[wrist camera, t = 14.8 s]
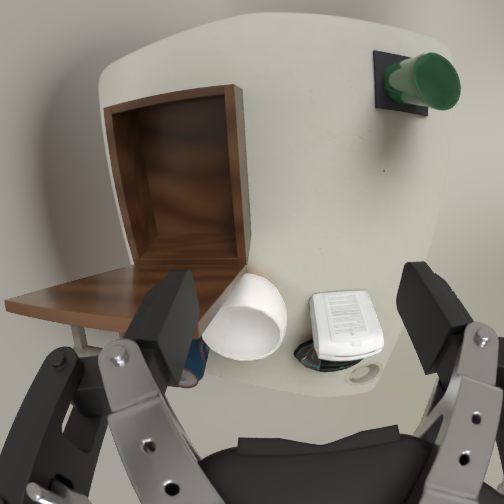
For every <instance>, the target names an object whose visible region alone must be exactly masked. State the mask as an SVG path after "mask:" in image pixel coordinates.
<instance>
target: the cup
mask: <svg viewBox="0 0 504 504" xmlns="http://www.w3.org/2000/svg"><path fill="white" fill-rule="evenodd" d="M286 328H287V313H286V305H285V303H284V301H283V299H282V297H281V295H280V294H279V292H278V290H277V288H276V286H275V285H273V284H272V283H271V282H269V281H268V280H267V279H265V278H263V277H260V276H257V275H254V274H251V273H245V274H244V275H243V277H242V278H241V280H240V281H239V283H238V284H237V285H236V287H235V288H234V290H233V291H232V293H231V294H230V295H229V297H228V298H227V300H226V301H225V303H224V304H223V305H222V307H221V308H220V310H219V311H218V313H217V314H216V315H215V317H214V318H213V320H212V321H211V323H210V324H209V325H208V327H207V328H206V330H205V331H204V333H203V334H202V339H203V340H204V342H205V343H206V344H207V345H208V346H209V347H210V349H211V350H213V351H215V352H216V353H218V354H220V355H221V356H223V357H226V358H230V359H234V360H237V361H253V360H257V359H261V358H265V357H267V356H268V355H270V354H272V353H273V352H275V351H276V350H277V349H278V347H279V346H280V344H281V343H282V341H283V339H284V336H285V333H286Z"/></svg>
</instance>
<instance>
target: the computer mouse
mask: <svg viewBox="0 0 504 504" xmlns="http://www.w3.org/2000/svg"><path fill="white" fill-rule="evenodd" d="M294 356H295V357H296V358H297V359H298V361H299V362H300V363H302V364H303V365H304V366H305V367H307V368H310V369H313V370H316V371H320V372H334V371H339V370H343V369H347V368H349V367H351V366H353V365H355V364H357V363H359V362H360V361H361V360H363V359H364V358H363V359H359V360H352V361H329V360H324V359H320V358H318V356H317V352H316V351H315V348H314V343H313V339H312V340H309V341H307V342H304V343H302V344H300V345H299V346H298V347H297V349H296V350H295V351H294Z"/></svg>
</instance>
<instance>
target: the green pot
mask: <svg viewBox="0 0 504 504" xmlns="http://www.w3.org/2000/svg"><path fill="white" fill-rule="evenodd" d="M383 85H384V88H385V90H386V92H387V94H388V95H389V96H390V97H391V98H392V99H393V100H394V101H395V102H397V103H399V104H403V105H413V106H424V107H429V108H432V109H435V110H448V109H451V108H452V107H453V106H454V105H455V104H456V103H457V101H458V100H459V97H460V89H461V87H460V80H459V77H458V74H457V72H456V70H455V68H454V67H453V66H452V64H451V63H450V62H449V61H448V60H447V59H446V58H444V57H443V56H441V55H439V54H436V53H424V54H420V55H418V56H417V57H414V58H410V59H406V60H402V61H398V62H395V63H392V64H390V65H388V66H387V67H386V69H385V71H384V73H383Z"/></svg>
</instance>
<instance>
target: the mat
mask: <svg viewBox="0 0 504 504" xmlns="http://www.w3.org/2000/svg"><path fill="white" fill-rule="evenodd" d="M373 54H374V70H375V107H376V108H381V109H389V110H396V111H402V112H408V113H414V114H420V115H425V116H428V107H424V106H413V105H403V104H399V103H397V102H395V101H394V100H393V99H392V98H391V97H390V96H389V95H388V94H387V92H386V90H385V88H384V85H383V73H384V71H385V69H386V67H387V66H388V65H390V64H392V63H395V62H398V61H402V60H406V59H410V58H409V57H405V56H401V55H396V54H391V53H386V52H380V51H375V50H374V51H373Z"/></svg>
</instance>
